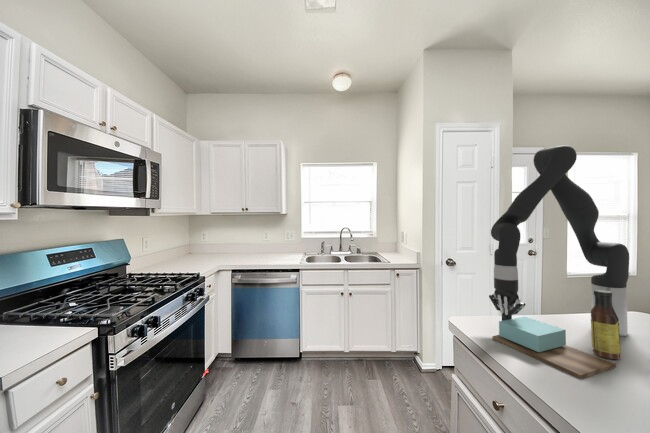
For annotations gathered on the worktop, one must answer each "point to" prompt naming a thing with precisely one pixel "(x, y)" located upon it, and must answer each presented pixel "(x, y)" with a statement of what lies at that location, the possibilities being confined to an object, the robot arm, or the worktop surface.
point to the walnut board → (564, 358)
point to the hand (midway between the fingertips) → (506, 324)
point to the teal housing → (532, 333)
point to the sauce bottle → (605, 326)
